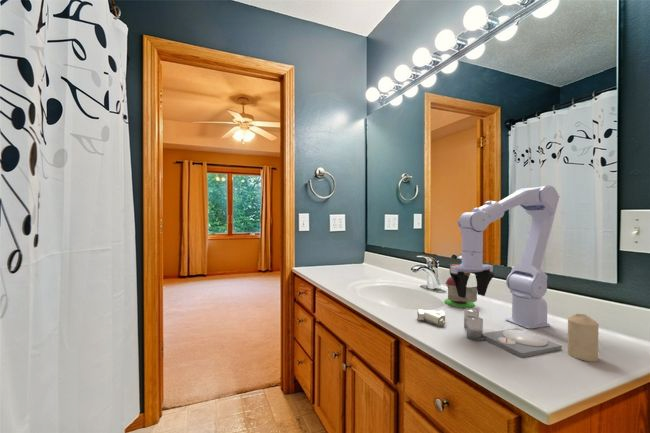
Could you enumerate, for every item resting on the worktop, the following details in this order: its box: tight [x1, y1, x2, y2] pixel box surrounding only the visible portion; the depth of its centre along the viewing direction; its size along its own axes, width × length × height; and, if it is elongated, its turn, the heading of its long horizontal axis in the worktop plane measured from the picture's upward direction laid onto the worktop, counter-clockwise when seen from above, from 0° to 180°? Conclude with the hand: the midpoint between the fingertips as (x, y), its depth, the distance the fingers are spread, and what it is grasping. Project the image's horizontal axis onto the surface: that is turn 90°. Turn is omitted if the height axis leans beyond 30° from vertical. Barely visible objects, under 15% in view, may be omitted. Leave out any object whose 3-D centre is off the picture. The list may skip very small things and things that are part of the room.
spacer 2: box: [465, 316, 484, 342], centre depth 79 cm, size 4×4×6 cm
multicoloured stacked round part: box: [444, 263, 478, 309], centre depth 111 cm, size 12×13×15 cm
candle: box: [567, 313, 599, 363], centre depth 69 cm, size 6×6×10 cm
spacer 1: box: [463, 307, 480, 330], centre depth 86 cm, size 4×4×6 cm
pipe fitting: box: [416, 308, 446, 327], centre depth 90 cm, size 8×4×7 cm
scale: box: [483, 327, 563, 358], centre depth 76 cm, size 14×12×1 cm
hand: (471, 296), depth 86 cm, fingers open, 7 cm apart
